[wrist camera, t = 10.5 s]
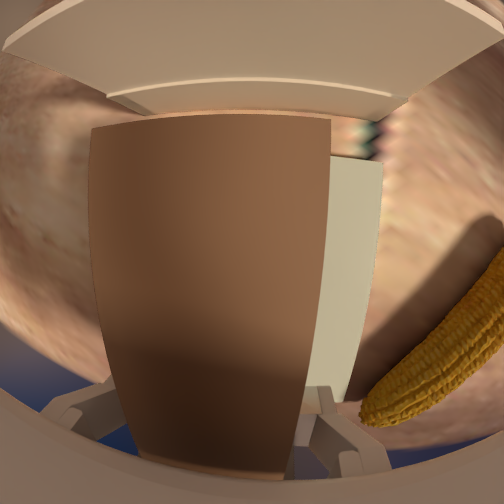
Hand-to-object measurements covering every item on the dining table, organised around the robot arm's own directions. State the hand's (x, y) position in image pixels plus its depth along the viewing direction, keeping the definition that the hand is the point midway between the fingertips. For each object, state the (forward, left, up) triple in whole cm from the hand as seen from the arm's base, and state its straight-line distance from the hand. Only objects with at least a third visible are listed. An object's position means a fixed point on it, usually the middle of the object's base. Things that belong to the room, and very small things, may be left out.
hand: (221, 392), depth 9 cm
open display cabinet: (0, -24, -10) cm, 26 cm away
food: (-18, +2, -10) cm, 20 cm away
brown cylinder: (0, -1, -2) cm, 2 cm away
